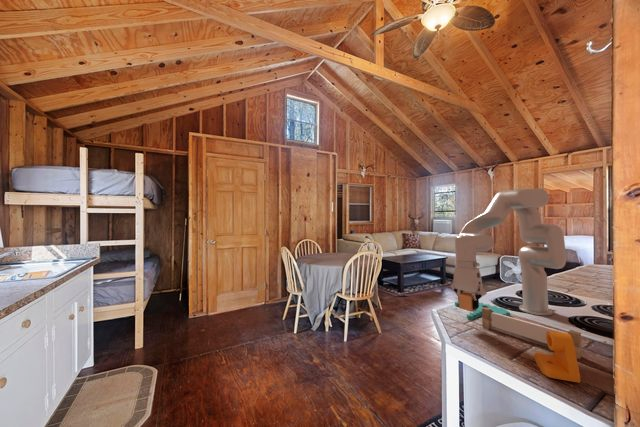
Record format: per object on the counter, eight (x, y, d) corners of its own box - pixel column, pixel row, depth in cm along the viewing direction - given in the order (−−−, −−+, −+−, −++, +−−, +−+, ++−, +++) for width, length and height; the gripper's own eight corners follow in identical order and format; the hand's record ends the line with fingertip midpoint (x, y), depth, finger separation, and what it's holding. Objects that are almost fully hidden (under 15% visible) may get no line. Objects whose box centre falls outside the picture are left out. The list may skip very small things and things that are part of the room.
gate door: (493, 325, 107) (493, 312, 107) (569, 349, 87) (568, 333, 87) (490, 326, 106) (490, 313, 106) (567, 351, 86) (566, 334, 86)
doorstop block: (465, 305, 113) (465, 291, 113) (477, 308, 108) (477, 294, 108) (459, 308, 110) (458, 294, 110) (471, 311, 106) (470, 296, 106)
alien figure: (468, 320, 117) (518, 323, 113) (468, 316, 117) (518, 318, 113) (454, 305, 137) (496, 307, 133) (454, 301, 137) (496, 303, 133)
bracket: (533, 360, 84) (532, 323, 84) (562, 365, 81) (561, 326, 81) (547, 379, 74) (545, 338, 74) (580, 385, 71) (578, 342, 71)
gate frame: (485, 325, 111) (485, 306, 111) (582, 356, 85) (581, 332, 85) (482, 327, 109) (481, 308, 109) (579, 359, 84) (578, 334, 84)
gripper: (492, 265, 104) (495, 310, 104) (452, 260, 118) (454, 299, 118) (482, 268, 100) (485, 315, 100) (442, 262, 115) (444, 303, 115)
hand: (468, 306), depth 109 cm, fingers closed on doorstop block, 5 cm apart
